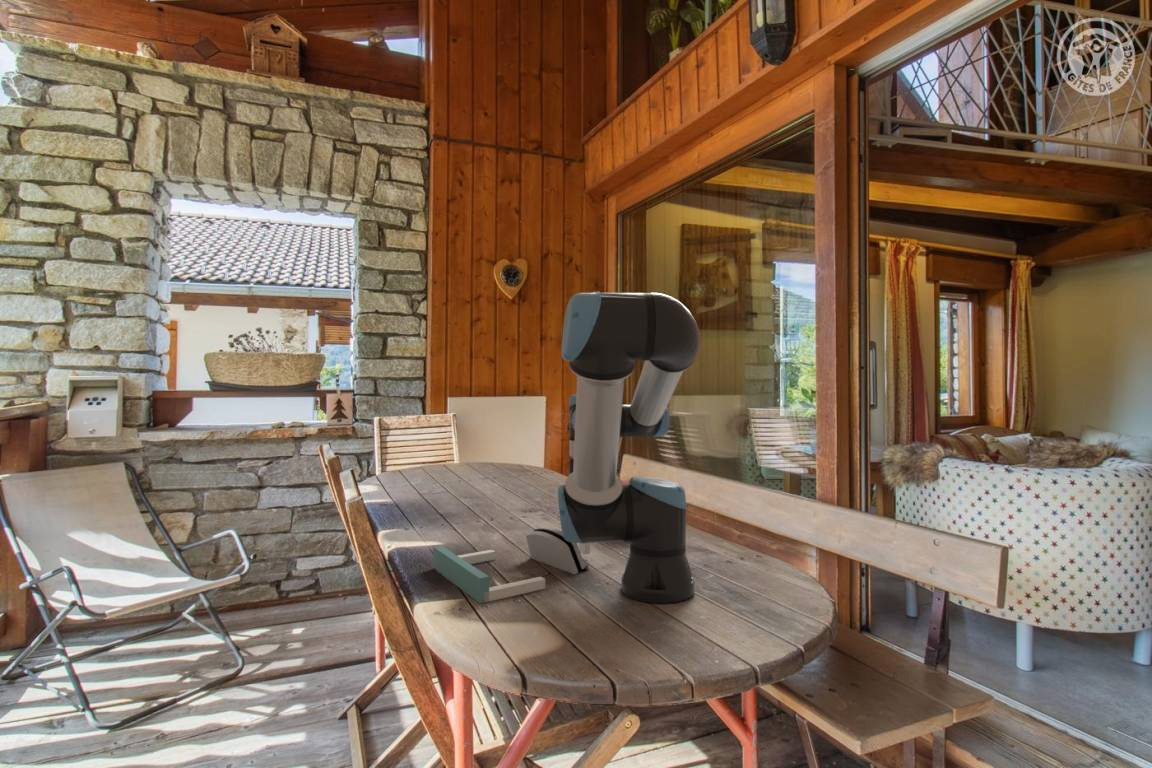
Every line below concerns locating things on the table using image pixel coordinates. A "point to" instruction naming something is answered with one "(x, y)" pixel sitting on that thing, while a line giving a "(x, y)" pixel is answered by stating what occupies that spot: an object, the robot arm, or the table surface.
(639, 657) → the table surface
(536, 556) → the grey half-round casing
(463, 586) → the guide bay
